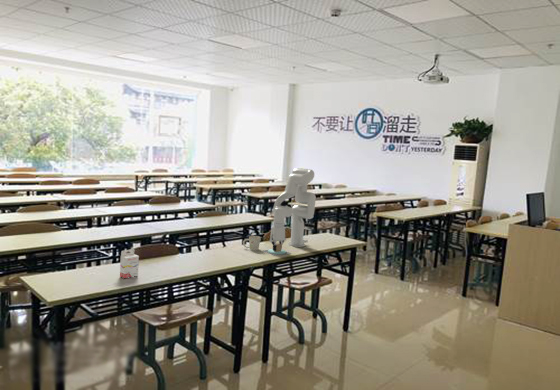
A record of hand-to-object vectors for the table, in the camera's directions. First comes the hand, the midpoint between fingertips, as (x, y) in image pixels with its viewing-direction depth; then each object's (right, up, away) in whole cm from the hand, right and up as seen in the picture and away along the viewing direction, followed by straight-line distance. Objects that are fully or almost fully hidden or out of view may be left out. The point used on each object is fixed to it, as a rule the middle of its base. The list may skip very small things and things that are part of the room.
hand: (277, 249), depth 318 cm
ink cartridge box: (-81, -6, -73) cm, 109 cm away
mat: (0, -3, 0) cm, 3 cm away
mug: (-19, -1, +4) cm, 19 cm away
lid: (0, -2, 0) cm, 2 cm away
